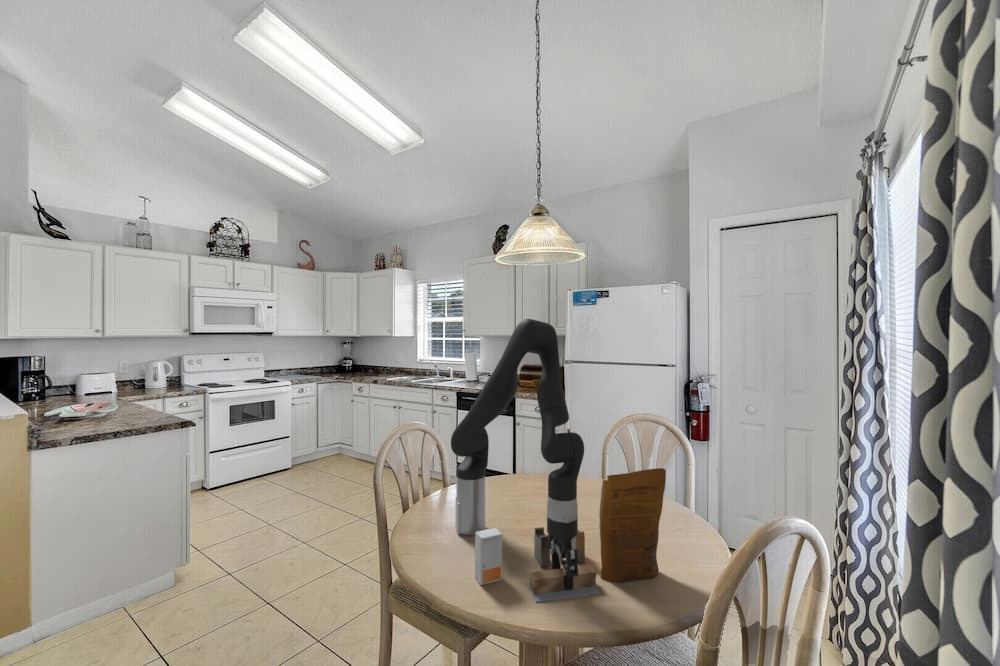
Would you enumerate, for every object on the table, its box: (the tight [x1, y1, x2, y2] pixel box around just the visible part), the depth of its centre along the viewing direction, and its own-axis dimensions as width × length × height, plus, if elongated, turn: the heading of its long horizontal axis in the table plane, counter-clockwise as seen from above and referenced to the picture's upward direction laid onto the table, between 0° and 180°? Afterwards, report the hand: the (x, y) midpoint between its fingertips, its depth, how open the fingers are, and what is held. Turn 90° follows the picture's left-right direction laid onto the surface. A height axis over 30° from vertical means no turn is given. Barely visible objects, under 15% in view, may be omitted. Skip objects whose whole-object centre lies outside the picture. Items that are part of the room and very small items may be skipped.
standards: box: [534, 527, 586, 569], centre depth 122 cm, size 12×6×8 cm, turn 103°
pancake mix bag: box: [598, 467, 667, 583], centre depth 114 cm, size 7×19×28 cm, turn 101°
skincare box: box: [474, 527, 503, 586], centre depth 113 cm, size 6×4×12 cm
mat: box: [526, 580, 601, 603], centre depth 109 cm, size 16×8×1 cm, turn 103°
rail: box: [529, 564, 597, 595], centre depth 109 cm, size 16×4×4 cm, turn 103°
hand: (562, 579), depth 109 cm, fingers open, 8 cm apart
